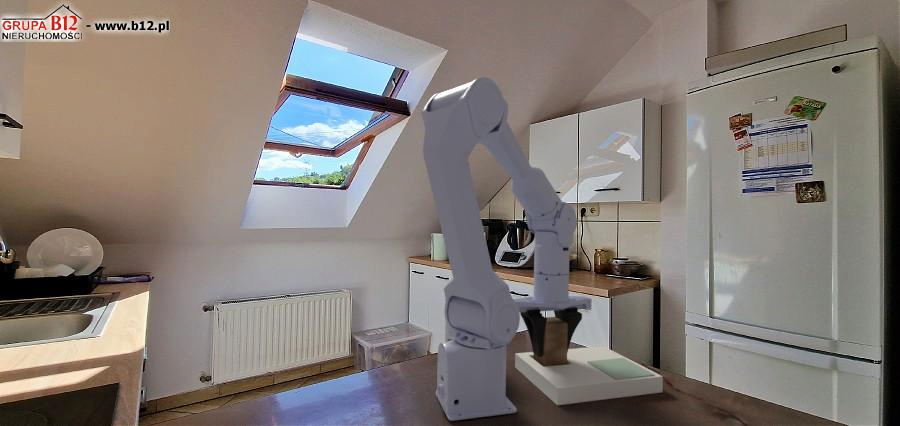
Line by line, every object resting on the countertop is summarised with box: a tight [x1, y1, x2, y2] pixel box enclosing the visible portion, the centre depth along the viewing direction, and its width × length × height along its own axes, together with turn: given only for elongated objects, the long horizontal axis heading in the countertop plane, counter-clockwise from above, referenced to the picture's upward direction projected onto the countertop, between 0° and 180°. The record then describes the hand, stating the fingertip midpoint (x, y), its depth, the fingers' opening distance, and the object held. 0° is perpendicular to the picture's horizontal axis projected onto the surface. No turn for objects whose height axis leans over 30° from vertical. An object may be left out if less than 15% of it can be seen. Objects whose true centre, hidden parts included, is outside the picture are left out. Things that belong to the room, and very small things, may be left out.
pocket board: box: [514, 345, 664, 406], centre depth 63 cm, size 18×14×2 cm
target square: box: [587, 358, 655, 380], centre depth 62 cm, size 7×7×1 cm
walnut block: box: [533, 316, 568, 367], centre depth 65 cm, size 4×4×9 cm
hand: (549, 353), depth 65 cm, fingers closed on walnut block, 4 cm apart
